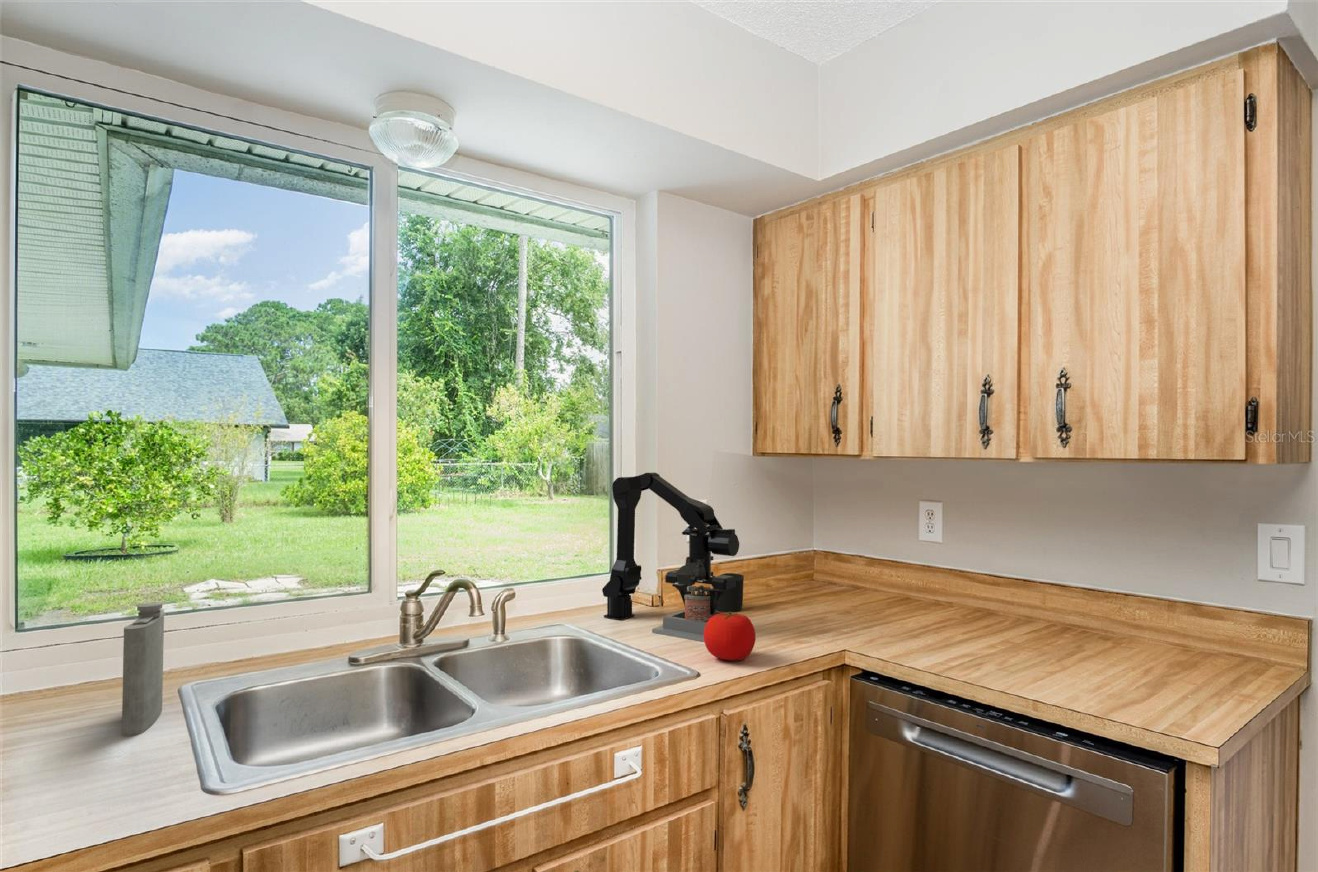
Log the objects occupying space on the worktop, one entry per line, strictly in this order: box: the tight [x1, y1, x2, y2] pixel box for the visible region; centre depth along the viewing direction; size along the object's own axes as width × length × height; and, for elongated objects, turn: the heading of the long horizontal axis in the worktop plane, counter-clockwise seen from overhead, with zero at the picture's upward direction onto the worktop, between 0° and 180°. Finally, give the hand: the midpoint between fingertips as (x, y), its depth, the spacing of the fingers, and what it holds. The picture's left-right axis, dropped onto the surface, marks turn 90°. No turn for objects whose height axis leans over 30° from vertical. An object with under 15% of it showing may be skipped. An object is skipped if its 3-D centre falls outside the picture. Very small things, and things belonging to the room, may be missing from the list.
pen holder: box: [711, 572, 744, 613], centre depth 214 cm, size 9×9×10 cm
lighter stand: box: [651, 609, 726, 643], centre depth 187 cm, size 18×18×4 cm
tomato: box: [703, 612, 757, 661], centre depth 162 cm, size 11×12×10 cm
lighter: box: [684, 584, 714, 622], centre depth 188 cm, size 8×3×10 cm, turn 84°
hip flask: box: [121, 602, 165, 737], centre depth 125 cm, size 16×4×20 cm, turn 24°
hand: (699, 612), depth 188 cm, fingers closed on lighter, 7 cm apart
